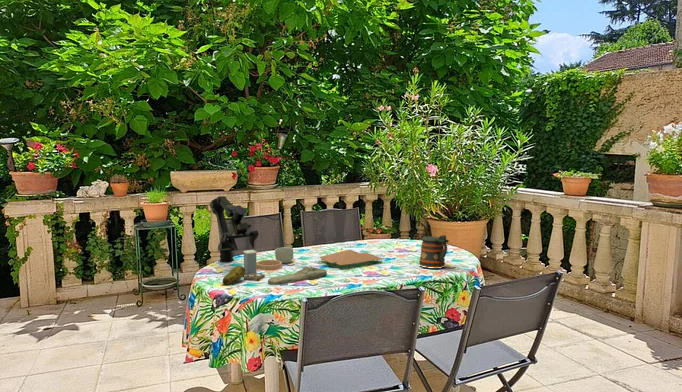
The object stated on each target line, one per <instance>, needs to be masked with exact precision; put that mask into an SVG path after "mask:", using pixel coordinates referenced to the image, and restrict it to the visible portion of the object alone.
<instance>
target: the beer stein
mask: <svg viewBox="0 0 682 392" xmlns="http://www.w3.org/2000/svg"><path fill="white" fill-rule="evenodd" d="M421 240H422V242H421V246H420V251H421V252H420V257H419V262H418V263H419V264H420V265H422V266H426V267H442V266H444V265H445V266H446V264H445V263H446V262H445V260H446V259H445V258H446V256H447V252H448V245H447V243H449V239H447V236H446V235H445V234H444V235H440V236H432V235H431V236H426V235H424V236H423V237H422V238H421ZM419 264H418V265H419Z"/></svg>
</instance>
